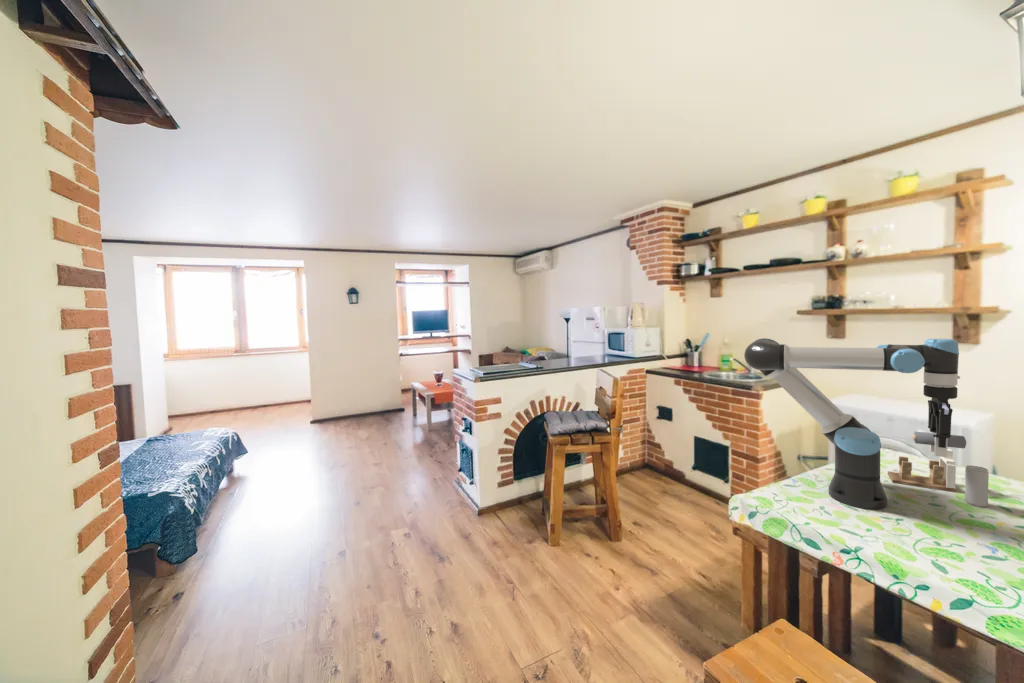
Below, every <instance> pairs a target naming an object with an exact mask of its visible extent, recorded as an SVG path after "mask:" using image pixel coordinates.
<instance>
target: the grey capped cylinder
mask: <svg viewBox="0 0 1024 683" xmlns="http://www.w3.org/2000/svg"><path fill="white" fill-rule="evenodd" d="M913 433H914V434H913V440H914V443H915V444H918V445H919V444H920V445H928V446H930V445H935V437H933V435H936V433H930V432H927V431H926V432H923V431H914V432H913ZM966 445H967V440H966V437H965V436H964V435H956V434H951V437H950V438H948V443H947V448H958V449H965V448H967V446H966Z"/></svg>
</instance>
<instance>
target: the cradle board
mask: <svg viewBox="0 0 1024 683" xmlns="http://www.w3.org/2000/svg"><path fill="white" fill-rule="evenodd" d="M898 465H899V466H898V472H894V471H887V475H888V477H889V479H890V480H891V482H892V483H893V484H899V485H906V486H913V487H918V488H919V487H920V488H925V489H933V490H940V491H945V492H953V493H957V492H958V490H957V488H956V487H955V489H954V488H947V487H946V480H944V479H943V475H944V467H943V466H940V460H933V459H929V460H928V469H929V476H922V475H915V474H912V470H913V462H911V461H909V457H907V456H899V455H898Z"/></svg>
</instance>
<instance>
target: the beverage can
mask: <svg viewBox="0 0 1024 683" xmlns="http://www.w3.org/2000/svg"><path fill="white" fill-rule="evenodd" d="M964 472H965V473H964V475H965V476H964V477H965V478H964V480H965V481H964V501H965V502H966V503H967V504H969V505H970V506H974V507H980V508H985V507H988V505H989V475H990V474H989V470H988V469H987V468H985V467H982V466H978V465H971V464H970V465H969V464H968V465H966V466H965V470H964Z"/></svg>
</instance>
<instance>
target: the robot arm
mask: <svg viewBox="0 0 1024 683" xmlns="http://www.w3.org/2000/svg"><path fill="white" fill-rule="evenodd" d="M743 355H744V360H745V362H746V364H747V365H748V366H749V367H751V368H753V369H754V370H757V371H760V372H761V374H763V375H764V376H765V377H767V378H771V379H773V380H774V381H775V382H776V383H777V384H778V385H779V386H780V387H781V388H782V389H783V390H784V391H786V393H787V394H789V396H791V397H792V398H793V399H794V400H795V401H796V403H798V404H799V405H800V406H801V407H802V408H803V409H804V410H805V412H807V414H809V415H810V416H811V417H812V418H813V419H814V420H815V421H816V422H817V423H818V424H819V425H820V426H821V434H823V436H824V437H826V438H827V439H828V441H830V443H831V444H833V447H834V474H833V476H832V479H831V481H830V483H829V485H828V495H829V496H830V497H831V498H832V499H834V500H836V501H838V502H840V503H842V504H845V505H848V506H851V507H852V506H853V507H856V508H861V509H862V508H863V509H871V510H880V509H884V508H886V507H888V497H887V494H886V492H885V489H884V486H883V484H882V483H881V482H882V481H881V449H882V442H881V438H880V436H879V435H878V434H876V433H875V432H873V431H871V430H870V428H868V427H867V426H865V425H864V424H862V423H861V422H860V421H859V420H857V418H855V417H854V416H853V415H852V414H849V413H844V412H842V410H841V409H840V408H839V407H837V406H836V405H835V403H833V401H832V400H830V398H828V397H827V396H826V395H825V394H824V393H823V392H822V391H821V390H820V389H819V388H818V387H817V386H816V385H814V383H812V382H811V381H810V380H809V379H808V378H807V377H806V376H805V375H804V374H803V373H802V372H801V371H800V370H799V369H821V370H822V369H823V370H824V369H828V370H849V371H850V370H855V371H884V372H899V373H902V374H913V373H917V372H918V371H921V369H923V384H924V385H923V396H925V397H928V398H931V400H929V399H928V400H927V404H928V405H927V407H928V415H927V416H928V417H927V418H928V421H927V422H928V423H927V424H928V426H927V428H928V429H929V433H936V435H933V437H935V445H929V452H931V453H932V452H933V453H934V456H935V457H939V458H940V457H947V449H948V447H947V443H948V438H950V437H951V435H952V434H951V433H952V415H953V412H954V410H953V408H951V404H950V403H949V400H954V399H957V398H958V390H959V389H958V387H957V386H958V380H960V379H961V376H960V375H959V373H958V372H959V355H960V351H959V342H958V341H957V340H956V339H952V338H927V339H925V340H924V343H923V344H890V343H889V344H888V343H887V344H879V345H877V346H876V347H809V346H807V347H804V346H801V347H800V346H798V347H794V346H793V347H792V346H789V345H788V344H781V343H779V342H778V341H777V340H776V341H775V340H774V339H771V338H768V337H767V338H758V339H756V340H755V341H752V342H751V343H750V344H748V346H746V349H745V350H744V354H743Z"/></svg>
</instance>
